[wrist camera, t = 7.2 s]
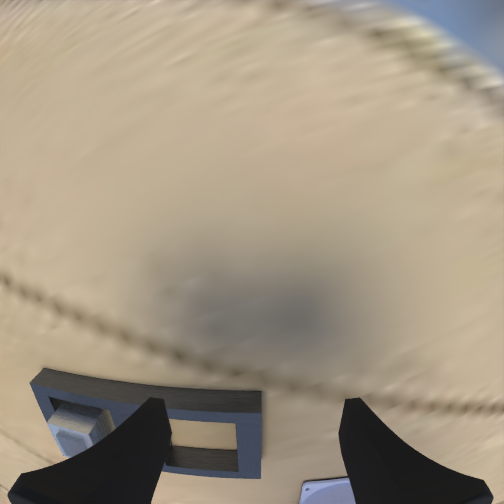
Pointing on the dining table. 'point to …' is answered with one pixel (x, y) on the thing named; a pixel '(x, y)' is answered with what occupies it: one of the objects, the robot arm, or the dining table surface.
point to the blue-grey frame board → (178, 407)
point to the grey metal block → (79, 427)
